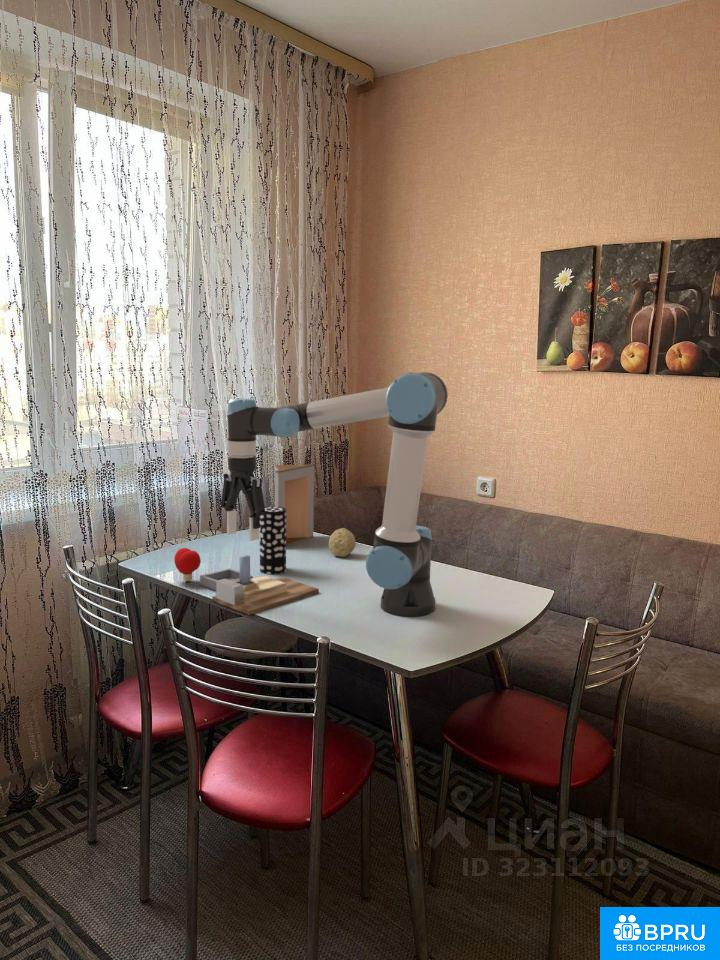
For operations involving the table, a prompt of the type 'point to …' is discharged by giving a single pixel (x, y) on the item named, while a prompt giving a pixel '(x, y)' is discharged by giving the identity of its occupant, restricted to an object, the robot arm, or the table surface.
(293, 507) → the cabinet
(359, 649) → the table surface
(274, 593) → the wooden block with recess
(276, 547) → the spotted tube
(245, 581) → the dowel
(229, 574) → the tray
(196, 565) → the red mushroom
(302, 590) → the board
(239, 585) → the block
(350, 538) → the coral
